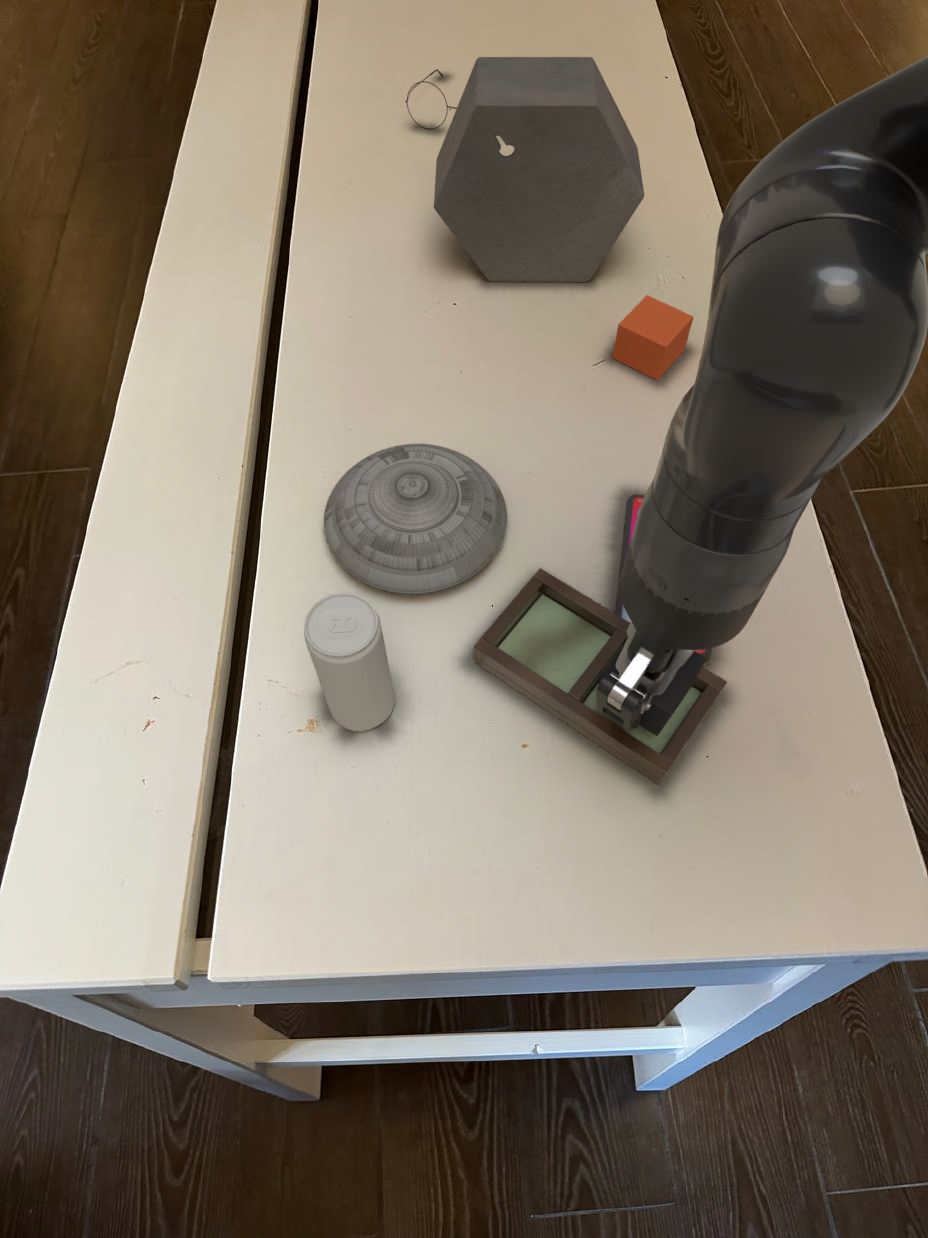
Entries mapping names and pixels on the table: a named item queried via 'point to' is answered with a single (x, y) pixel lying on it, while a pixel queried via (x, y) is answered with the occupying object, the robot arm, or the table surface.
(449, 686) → the table surface
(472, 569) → the flying saucer
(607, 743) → the double picture frame
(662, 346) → the terracotta cube
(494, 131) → the planter
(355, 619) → the beverage can
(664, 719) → the black square block
